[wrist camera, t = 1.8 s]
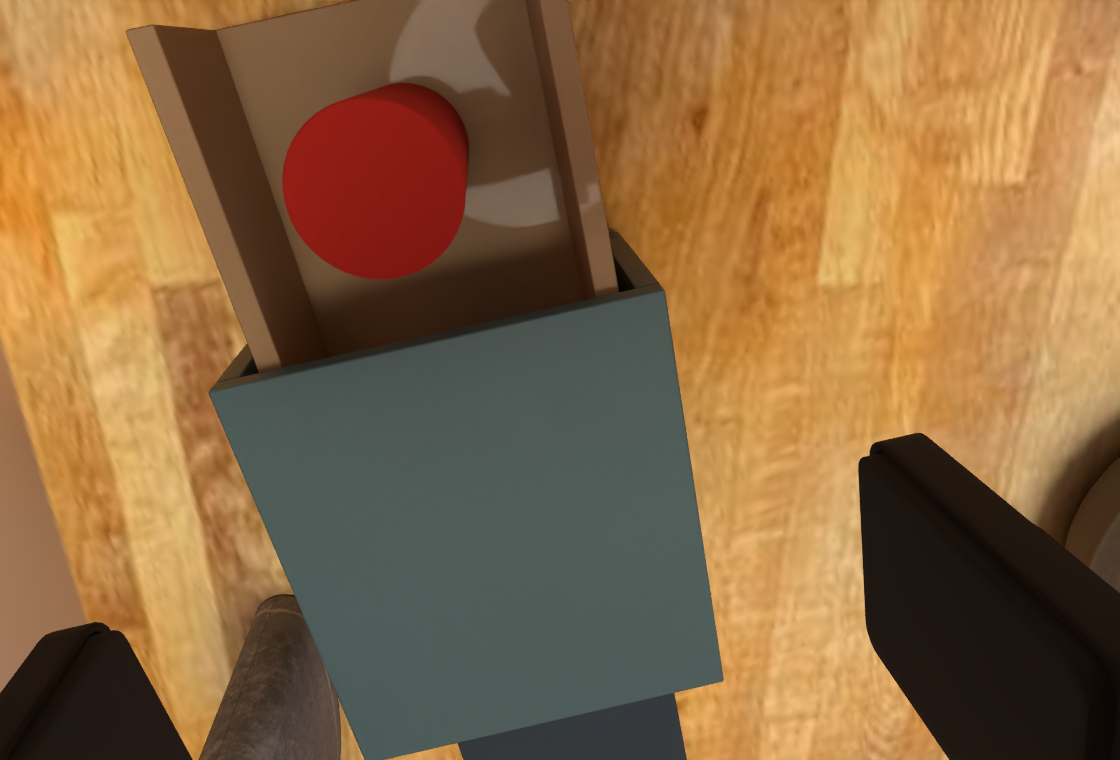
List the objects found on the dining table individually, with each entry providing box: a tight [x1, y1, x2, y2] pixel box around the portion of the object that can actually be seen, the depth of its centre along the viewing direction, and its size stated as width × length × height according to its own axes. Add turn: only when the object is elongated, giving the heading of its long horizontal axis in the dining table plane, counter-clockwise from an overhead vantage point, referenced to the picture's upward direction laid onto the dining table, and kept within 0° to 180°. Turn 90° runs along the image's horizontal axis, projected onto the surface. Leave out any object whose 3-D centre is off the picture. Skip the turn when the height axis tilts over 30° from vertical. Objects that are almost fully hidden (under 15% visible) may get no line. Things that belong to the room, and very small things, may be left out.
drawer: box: [126, 0, 619, 373], centre depth 25 cm, size 20×13×7 cm, turn 11°
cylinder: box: [282, 83, 469, 279], centre depth 23 cm, size 4×4×10 cm
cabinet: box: [209, 232, 724, 760], centre depth 31 cm, size 17×15×9 cm
